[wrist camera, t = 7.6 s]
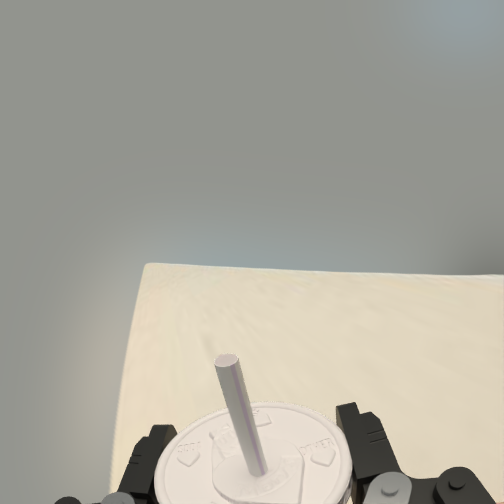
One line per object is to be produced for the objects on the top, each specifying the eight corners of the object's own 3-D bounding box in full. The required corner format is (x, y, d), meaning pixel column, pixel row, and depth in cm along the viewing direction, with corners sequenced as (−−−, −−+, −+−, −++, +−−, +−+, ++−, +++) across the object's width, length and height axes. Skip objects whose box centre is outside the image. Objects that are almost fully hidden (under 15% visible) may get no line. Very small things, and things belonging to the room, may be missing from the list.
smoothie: (269, 622, 7) (126, 510, 3) (202, 546, 12) (77, 347, 8) (372, 552, 10) (412, 332, 6) (294, 494, 15) (251, 281, 12)
